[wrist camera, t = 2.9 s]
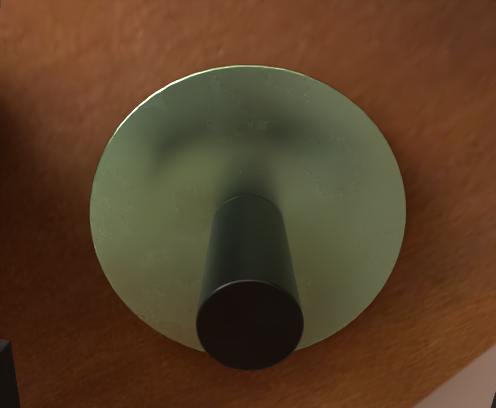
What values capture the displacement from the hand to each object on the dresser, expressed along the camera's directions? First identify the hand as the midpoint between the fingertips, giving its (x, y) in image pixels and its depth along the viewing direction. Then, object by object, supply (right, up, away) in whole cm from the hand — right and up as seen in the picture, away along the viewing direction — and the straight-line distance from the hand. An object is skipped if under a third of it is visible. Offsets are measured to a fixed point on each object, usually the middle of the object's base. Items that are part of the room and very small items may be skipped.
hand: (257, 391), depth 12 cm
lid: (0, +4, +11) cm, 12 cm away
